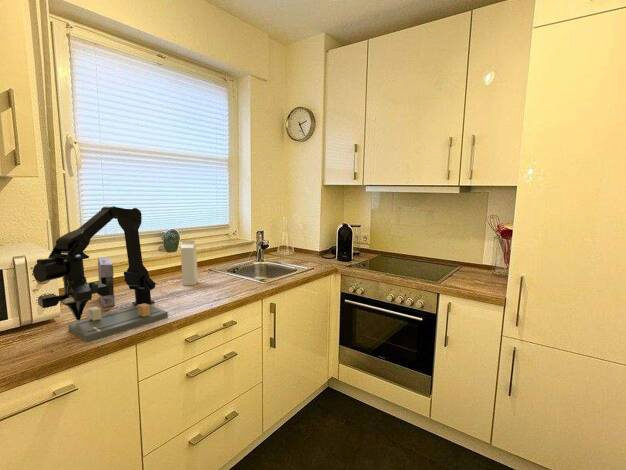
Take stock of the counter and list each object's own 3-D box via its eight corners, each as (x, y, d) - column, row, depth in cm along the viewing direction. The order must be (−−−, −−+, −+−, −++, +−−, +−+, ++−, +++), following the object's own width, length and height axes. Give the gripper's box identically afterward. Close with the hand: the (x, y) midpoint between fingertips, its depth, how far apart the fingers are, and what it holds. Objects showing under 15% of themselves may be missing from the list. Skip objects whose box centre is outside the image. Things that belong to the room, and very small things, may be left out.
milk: (194, 285, 165) (192, 241, 162) (182, 285, 164) (180, 241, 161) (197, 281, 171) (196, 239, 168) (185, 282, 170) (183, 239, 167)
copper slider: (138, 314, 118) (137, 304, 118) (144, 312, 120) (144, 303, 119) (143, 316, 116) (142, 307, 115) (150, 314, 117) (149, 305, 117)
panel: (68, 329, 111) (68, 323, 111) (146, 308, 131) (146, 303, 131) (86, 342, 101) (85, 335, 101) (167, 317, 122) (167, 311, 121)
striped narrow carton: (116, 306, 134) (113, 263, 132) (101, 309, 131) (98, 265, 129) (112, 294, 149) (109, 256, 147) (99, 296, 146) (95, 257, 144)
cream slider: (89, 318, 115) (88, 308, 114) (96, 316, 117) (96, 306, 116) (93, 320, 112) (92, 310, 112) (101, 318, 114) (100, 308, 114)
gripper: (45, 284, 96) (51, 335, 98) (114, 272, 111) (118, 317, 113) (34, 278, 103) (40, 326, 105) (101, 267, 118) (105, 310, 120)
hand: (78, 319), depth 111 cm, fingers closed
